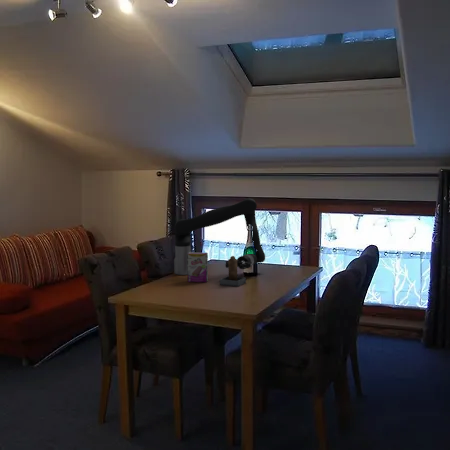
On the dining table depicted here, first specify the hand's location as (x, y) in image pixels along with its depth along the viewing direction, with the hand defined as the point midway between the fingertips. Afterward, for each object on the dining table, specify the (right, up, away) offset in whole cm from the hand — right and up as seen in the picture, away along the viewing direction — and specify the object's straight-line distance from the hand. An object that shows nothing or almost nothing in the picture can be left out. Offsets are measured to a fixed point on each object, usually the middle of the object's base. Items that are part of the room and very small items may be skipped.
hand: (233, 266), depth 286 cm
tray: (0, -10, 0) cm, 10 cm away
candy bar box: (-20, -9, +8) cm, 23 cm away
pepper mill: (0, -9, 0) cm, 9 cm away
